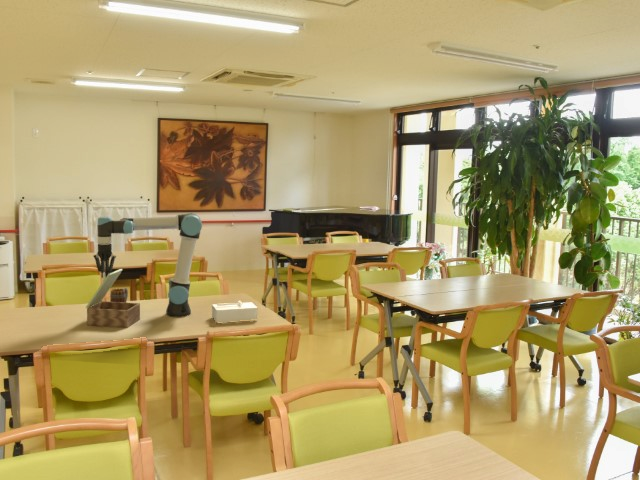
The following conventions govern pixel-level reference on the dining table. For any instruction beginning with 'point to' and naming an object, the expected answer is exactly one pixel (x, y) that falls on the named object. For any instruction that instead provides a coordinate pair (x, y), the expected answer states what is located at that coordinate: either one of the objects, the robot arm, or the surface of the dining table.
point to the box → (113, 314)
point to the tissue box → (234, 311)
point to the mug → (119, 295)
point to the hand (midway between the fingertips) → (105, 283)
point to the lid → (104, 288)
